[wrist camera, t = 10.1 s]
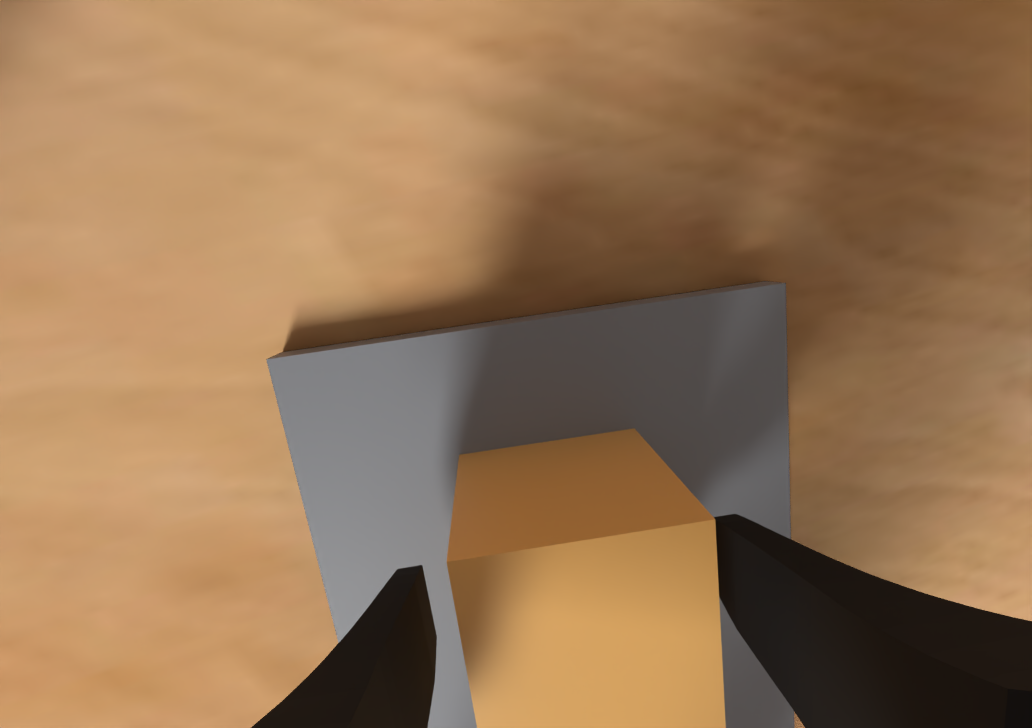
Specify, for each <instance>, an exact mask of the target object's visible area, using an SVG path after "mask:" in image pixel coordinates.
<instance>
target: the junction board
mask: <svg viewBox="0 0 1032 728" xmlns="http://www.w3.org/2000/svg"><path fill="white" fill-rule="evenodd" d="M266 360H267V364H268V368H269V372H270V375H271V379H272V383H273V387H274V391H275V395H276V399H277V403H278V407H279V411H280V415H281V419H282V423H283V426H284V430H285V434H286V438H287V442H288V446H289V450H290V454H291V458H292V462H293V466H294V470H295V474H296V477H297V481H298V485H299V489H300V493H301V497H302V501H303V505H304V509H305V513H306V517H307V521H308V525H309V529H310V532H311V536H312V540H313V544H314V548H315V552H316V556H317V560H318V564H319V568H320V572H321V576H322V580H323V583H324V587H325V591H326V595H327V599H328V603H329V607H330V611H331V615H332V619H333V623H334V627H335V631H336V634H337V638H338V642H340V641H341V640H342V639H343V637H344V636H345V635H346V634H347V633H348V632H349V631H350V629H351V628H352V627H353V626H354V624H355V623H356V622H357V621H358V619H359V618H360V617H361V616H362V614H363V613H364V612H365V611H366V609H367V608H368V607H369V605H370V604H371V603H372V601H373V600H374V599H375V597H376V596H377V595H378V593H379V592H380V591H381V590H382V588H383V587H384V586H385V584H386V583H387V582H388V580H389V579H390V578H391V576H392V575H393V574H394V573H395V571H396V570H397V569H400V568H406V567H412V566H418V565H422V566H423V571H424V576H425V581H426V586H427V591H428V595H429V600H430V605H431V610H432V615H433V620H434V625H435V630H436V635H437V647H436V670H435V683H434V690H433V696H432V703H431V709H430V715H429V722H428V728H477V725H476V719H475V714H474V708H473V703H472V698H471V692H470V687H469V681H468V676H467V671H466V665H465V660H464V654H463V649H462V643H461V638H460V633H459V627H458V622H457V616H456V611H455V606H454V600H453V595H452V589H451V584H450V579H449V573H448V568H447V553H448V545H449V536H450V528H451V519H452V511H453V502H454V494H455V486H456V477H457V469H458V460H459V455H461V454H468V453H475V452H481V451H488V450H495V449H501V448H508V447H514V446H521V445H528V444H534V443H541V442H548V441H554V440H561V439H567V438H574V437H581V436H587V435H594V434H601V433H607V432H614V431H620V430H627V429H634V428H635V429H636V431H637V432H638V433H639V434H640V435H641V436H642V437H643V439H644V440H645V441H646V442H647V443H648V444H649V445H650V446H651V448H652V449H653V450H654V451H655V452H656V453H657V454H658V455H659V457H660V458H661V459H662V460H663V461H664V462H665V463H666V464H667V466H668V467H669V468H670V469H671V470H672V471H673V472H674V473H675V475H676V476H677V477H678V478H679V479H680V480H681V481H682V482H683V484H684V485H685V486H686V487H687V488H688V489H689V490H690V491H691V493H692V494H693V495H694V496H695V497H696V498H697V499H698V500H699V502H700V503H701V504H702V505H703V506H704V507H705V508H706V509H707V511H708V512H709V513H710V514H711V515H712V516H713V517H718V516H724V515H730V514H738V515H740V516H743V517H745V518H747V519H749V520H751V521H754V522H756V523H758V524H760V525H762V526H764V527H766V528H768V529H770V530H772V531H774V532H776V533H779V534H781V535H783V536H785V537H787V538H789V539H791V525H790V474H789V422H788V370H787V318H786V283H781V282H769V281H763V282H756V283H749V284H743V285H736V286H729V287H722V288H715V289H709V290H702V291H695V292H688V293H681V294H675V295H668V296H661V297H654V298H647V299H640V300H634V301H627V302H620V303H613V304H606V305H600V306H593V307H586V308H579V309H572V310H566V311H559V312H552V313H545V314H538V315H532V316H525V317H518V318H511V319H504V320H498V321H491V322H484V323H477V324H470V325H464V326H457V327H450V328H443V329H436V330H429V331H423V332H416V333H409V334H402V335H395V336H389V337H382V338H375V339H368V340H361V341H355V342H348V343H341V344H334V345H327V346H321V347H314V348H307V349H300V350H293V351H287V352H281V353H279V354H277V355H275V356H273V357H270V358H268V359H266ZM719 603H720V623H721V643H722V663H723V683H724V703H725V723H726V728H794V710H793V709H792V707H791V706H790V705H789V703H788V702H787V700H786V699H785V697H784V696H783V695H782V693H781V692H780V690H779V689H778V688H777V686H776V685H775V683H774V682H773V680H772V679H771V678H770V676H769V675H768V673H767V672H766V671H765V669H764V668H763V666H762V665H761V663H760V662H759V661H758V659H757V658H756V656H755V655H754V653H753V652H752V651H751V649H750V648H749V646H748V645H747V643H746V642H745V641H744V639H743V638H742V636H741V635H740V633H739V632H738V630H737V629H736V627H735V625H734V623H733V622H732V620H731V618H730V616H729V614H728V613H727V611H726V609H725V607H724V605H723V603H722V601H721V599H720V597H719Z"/></svg>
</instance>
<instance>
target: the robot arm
mask: <svg viewBox="0 0 1032 728" xmlns="http://www.w3.org/2000/svg"><path fill="white" fill-rule="evenodd" d="M714 519H715V524H716V544H717V564H718V583H719V597H720V599H721V601H722V603H723V605H724V607H725V609H726V611H727V613H728V614H729V616H730V618H731V620H732V622H733V623H734V625H735V627H736V629H737V630H738V632H739V633H740V635H741V636H742V638H743V639H744V641H745V642H746V643H747V645H748V646H749V648H750V649H751V651H752V652H753V653H754V655H755V656H756V658H757V659H758V661H759V662H760V663H761V665H762V666H763V668H764V669H765V671H766V672H767V673H768V675H769V676H770V678H771V679H772V680H773V682H774V683H775V685H776V686H777V688H778V689H779V690H780V692H781V693H782V695H783V696H784V697H785V699H786V700H787V702H788V703H789V705H790V706H791V707H792V709H793V710H794V712H795V713H796V714H797V716H798V717H799V719H800V720H801V722H802V723H803V725H804V726H805V728H1032V621H1027V620H1023V619H1018V618H1013V617H1009V616H1005V615H1001V614H997V613H993V612H989V611H985V610H981V609H977V608H973V607H970V606H966V605H963V604H959V603H955V602H952V601H948V600H945V599H941V598H938V597H935V596H931V595H928V594H925V593H922V592H919V591H916V590H913V589H910V588H907V587H904V586H901V585H898V584H895V583H893V582H890V581H887V580H884V579H881V578H879V577H876V576H873V575H871V574H868V573H865V572H863V571H861V570H858V569H856V568H853V567H851V566H849V565H846V564H844V563H841V562H839V561H837V560H834V559H832V558H830V557H827V556H825V555H823V554H821V553H819V552H816V551H814V550H812V549H810V548H808V547H806V546H803V545H801V544H799V543H797V542H795V541H793V540H791V539H789V538H787V537H785V536H783V535H781V534H779V533H776V532H774V531H772V530H770V529H768V528H766V527H764V526H762V525H760V524H758V523H756V522H754V521H751V520H749V519H747V518H745V517H743V516H740V515H738V514H730V515H724V516H718V517H714ZM436 647H437V635H436V630H435V625H434V620H433V615H432V610H431V605H430V600H429V595H428V591H427V586H426V581H425V576H424V571H423V566H422V565H418V566H412V567H406V568H400V569H397V570H396V571H395V573H394V574H393V575H392V576H391V578H390V579H389V580H388V582H387V583H386V584H385V586H384V587H383V588H382V590H381V591H380V592H379V593H378V595H377V596H376V597H375V599H374V600H373V601H372V603H371V604H370V605H369V607H368V608H367V609H366V611H365V612H364V613H363V614H362V616H361V617H360V618H359V619H358V621H357V622H356V623H355V624H354V626H353V627H352V628H351V629H350V631H349V632H348V633H347V634H346V635H345V636H344V637H343V639H342V640H341V641H340V642H339V643H338V644H337V646H336V647H335V648H334V649H333V650H332V651H331V652H330V654H329V655H328V656H327V657H326V658H325V659H324V660H323V661H322V662H321V663H320V665H319V666H318V667H317V668H316V669H315V670H314V671H313V672H312V673H311V674H310V675H309V676H308V677H307V678H306V679H305V680H304V681H303V682H302V683H301V684H300V685H299V686H298V687H297V688H296V689H294V690H293V691H292V692H291V693H290V694H289V695H288V696H287V697H286V698H285V699H284V700H283V701H282V702H281V703H279V704H278V705H277V706H276V707H275V708H274V709H272V710H271V711H270V712H269V713H268V714H267V715H265V716H264V717H263V718H262V719H261V720H260V721H258V722H257V723H256V724H255V725H254V726H252V727H251V728H428V722H429V715H430V709H431V703H432V696H433V690H434V683H435V670H436Z"/></svg>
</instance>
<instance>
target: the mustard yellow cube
mask: <svg viewBox="0 0 1032 728" xmlns="http://www.w3.org/2000/svg"><path fill="white" fill-rule="evenodd" d="M447 568H448V573H449V579H450V584H451V589H452V595H453V600H454V606H455V611H456V616H457V622H458V627H459V633H460V638H461V643H462V649H463V654H464V660H465V665H466V671H467V676H468V681H469V687H470V692H471V698H472V703H473V708H474V714H475V719H476V725H477V728H726V723H725V703H724V683H723V663H722V643H721V623H720V603H719V583H718V564H717V544H716V524H715V519H714V517H713V516H712V515H711V514H710V513H709V512H708V511H707V509H706V508H705V507H704V506H703V505H702V504H701V503H700V502H699V500H698V499H697V498H696V497H695V496H694V495H693V494H692V493H691V491H690V490H689V489H688V488H687V487H686V486H685V485H684V484H683V482H682V481H681V480H680V479H679V478H678V477H677V476H676V475H675V473H674V472H673V471H672V470H671V469H670V468H669V467H668V466H667V464H666V463H665V462H664V461H663V460H662V459H661V458H660V457H659V455H658V454H657V453H656V452H655V451H654V450H653V449H652V448H651V446H650V445H649V444H648V443H647V442H646V441H645V440H644V439H643V437H642V436H641V435H640V434H639V433H638V432H637V431H636V429H635V428H634V429H627V430H620V431H614V432H607V433H601V434H594V435H587V436H581V437H574V438H567V439H561V440H554V441H548V442H541V443H534V444H528V445H521V446H514V447H508V448H501V449H495V450H488V451H481V452H475V453H468V454H461V455H459V460H458V469H457V477H456V486H455V494H454V502H453V511H452V519H451V528H450V536H449V545H448V553H447Z"/></svg>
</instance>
